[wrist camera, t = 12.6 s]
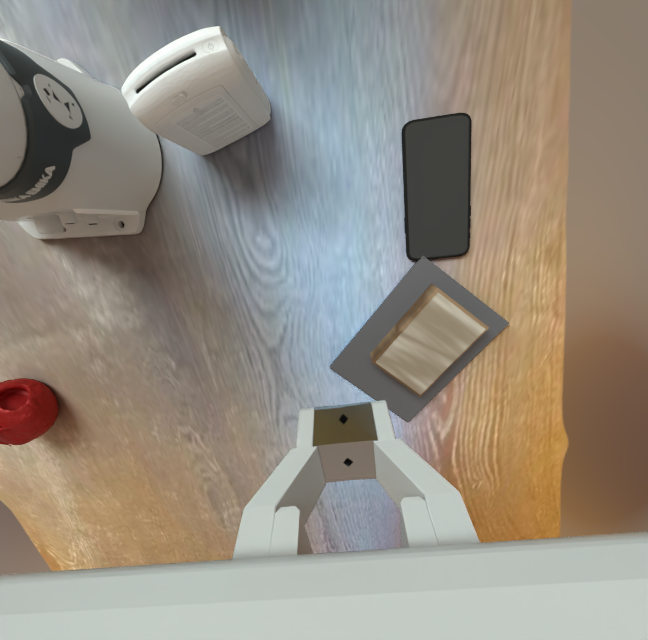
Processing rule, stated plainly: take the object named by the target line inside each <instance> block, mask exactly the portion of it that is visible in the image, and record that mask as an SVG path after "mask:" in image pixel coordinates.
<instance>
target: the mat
mask: <svg viewBox="0 0 648 640" xmlns="http://www.w3.org/2000/svg"><path fill="white" fill-rule="evenodd" d="M423 258H425V259H423ZM431 283H432V284H433V285H435V286H436V287H438V288H439V289H440V290H441V291H443V292H444V293H445V294H447V295H448V296H449V297H451V298H452V299H453V300H454V301H456V302H457V303H458V304H460V305H461V306H462V307H463V308H465V309H466V310H467V311H469V312H470V313H471V314H473V315H474V316H475V317H476V318H478V319H479V320H480V321H482V322H483V323H484V324H485V325H487V326H488V327H489V329H488V330H487V331H486V332H485V333H484V334H483V335H482V336H481V337H480V338H479V339H478V340H477V341H476V342H475V343H474V344H473V345H472V346H471V347H470V348H469V349H468V350H467V351H466V352H465V353H464V354H463V355H462V356H461V357H460V358H459V359H458V360H457V361H456V362H455V363H454V364H453V365H452V366H451V367H450V368H449V369H448V370H447V371H446V372H445V373H444V374H443V375H442V376H441V377H440V378H439V379H438V380H437V381H436V382H435V383H434V384H433V385H432V386H431V387H430V388H429V389H428V390H427V391H426V392H425V393H424V394H423V395H422V396H421V397H420V396H418V395H417V394H415V393H414V392H413V391H411V390H410V389H408V388H407V387H406V386H404V385H403V384H401V383H400V382H398V381H397V380H396V379H394V378H393V377H391V376H390V375H389V374H387V373H386V372H384V371H383V370H382V369H380V368H379V367H377V366H376V365H375V364H373V363H372V362H371V356H370V353H371V352H372V351H373V350H374V349H375V348H376V346H377V345H378V344H379V343H380V342H381V341H382V340H383V338H384V337H385V336H386V335H387V334H388V333H389V332H390V330H391V329H392V328H393V327H394V326H395V325H396V323H397V322H398V321H399V320H400V319H401V318H402V317H403V315H404V314H405V313H406V312H407V311H408V310H409V309H410V307H411V306H412V305H413V304H414V303H415V302H416V301H417V299H418V298H419V297H420V296H421V295H422V294H423V292H424V291H425V290H426V289H427V288H428V287H429V286H430V284H431ZM508 324H509V322H507V321H506V320H505V319H503V318H502V317H501V316H500V315H498V314H497V313H496V312H494V311H493V310H492V309H491V308H489V307H488V306H487V305H486V304H484V303H483V302H482V301H480V300H479V299H478V298H477V297H475V296H474V295H473V294H471V293H470V292H469V291H468V290H466V289H465V288H464V287H463V286H461V285H460V284H459V283H457V282H456V281H455V280H454V279H452V278H451V277H450V276H449V275H447V274H446V273H445V272H443V271H442V270H441V269H440V268H438V267H437V266H436V265H434V264H433V263H432V262H431V261H429V260H428V259H427V258H426V257H424V256H422V257H421V259H420V260H418V261H417V262H416V263H415V264H414V265H413V267H412V268H411V269H410V270H409V271H408V273H407V274H406V275H405V276H404V277H403V279H402V280H401V281H400V282H399V283H398V285H397V286H396V287H395V288H394V290H393V291H392V292H391V293H390V294H389V296H388V297H387V298H386V299H385V300H384V302H383V303H382V304H381V305H380V306H379V308H378V309H377V310H376V311H375V312H374V314H373V315H372V316H371V317H370V318H369V320H368V321H367V322H366V323H365V325H364V326H363V327H362V328H361V329H360V331H359V332H358V333H357V334H356V335H355V337H354V338H353V339H352V340H351V341H350V343H349V344H348V345H347V346H346V347H345V349H344V350H343V351H342V352H341V353H340V355H339V356H338V357H337V358H336V359H335V361H334V362H333V363H332V364H331V366H330V368H331V369H332V370H334V371H335V372H336V373H338V374H339V375H341V376H342V377H344V378H345V379H346V380H348V381H349V382H351V383H352V384H354V385H355V386H357V387H358V388H359V389H361V390H362V391H364V392H365V393H367V394H368V395H369V396H371V397H372V398H374V399H375V400H377V401H381V400H385V401H386V402H387V406H388V409H390V410H391V411H392V412H394V413H395V414H397V415H398V416H400V417H401V418H402V419H404V420H405V421H407V422H409V421H410V420H411V419H412V418H413V417H414V416H415V415H416V414H417V413H418V412H419V411H420V410H421V409H422V408H423V407H424V406H425V405H426V404H427V403H428V402H429V401H430V400H431V399H432V398H433V397H434V396H435V395H436V394H437V393H438V392H439V391H441V390H442V389H443V388H444V387H445V386H446V385H447V384H448V383H449V382H450V381H451V380H452V379H453V378H454V377H455V376H456V375H457V374H458V373H459V372H460V371H461V370H462V369H463V368H464V367H465V366H466V365H467V364H468V363H469V362H470V361H471V360H472V359H473V358H474V357H475V356H476V355H477V354H478V353H479V352H480V351H481V350H482V349H483V348H484V347H485V346H486V345H487V344H488V343H489V342H491V341H492V340H493V339H494V338H495V337H496V336H497V335H498V334H499V333H500V332H501V331H502V330H503V329H504V328H505V327H506V326H507V325H508Z"/></svg>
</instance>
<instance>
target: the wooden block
mask: <svg viewBox="0 0 648 640" xmlns="http://www.w3.org/2000/svg"><path fill="white" fill-rule="evenodd" d="M488 329H489V327H488V326H487V325H485V324H484V323H483V322H482V321H480V320H479V319H478V318H476V317H475V316H474V315H473V314H471V313H470V312H469V311H467V310H466V309H465V308H463V307H462V306H461V305H460V304H458V303H457V302H456V301H454V300H453V299H452V298H451V297H449V296H448V295H447V294H445V293H444V292H443V291H441V290H440V289H439V288H438V287H436V286H435V285H433V284H432V283H431V284H430V286H429V287H428V288H427V289H426V290H425V291H424V292H423V294H422V295H421V296H420V297H419V298H418V299H417V301H416V302H415V303H414V304H413V305H412V306H411V307H410V309H409V310H408V311H407V312H406V313H405V314H404V315H403V317H402V318H401V319H400V320H399V321H398V322H397V323H396V325H395V326H394V327H393V328H392V329H391V330H390V332H389V333H388V334H387V335H386V336H385V337H384V338H383V340H382V341H381V342H380V343H379V344H378V345H377V346H376V348H375V349H374V350H373V351H372V352H371V353H370V356H371V362H372V363H373V364H375V365H376V366H377V367H379V368H380V369H382V370H383V371H384V372H386V373H387V374H389V375H390V376H391V377H393V378H394V379H396V380H397V381H398V382H400V383H401V384H403V385H404V386H406V387H407V388H408V389H410V390H411V391H413V392H414V393H415V394H417V395H418V396H420V397H421V396H422V395H423V394H424V393H425V392H426V391H427V390H428V389H429V388H430V387H431V386H432V385H433V384H434V383H435V382H436V381H437V380H438V379H439V378H440V377H441V376H442V375H443V374H444V373H445V372H446V371H447V370H448V369H449V368H450V367H451V366H452V365H453V364H454V363H455V362H456V361H457V360H458V359H459V358H460V357H461V356H462V355H463V354H464V353H465V352H466V351H467V350H468V349H469V348H470V347H471V346H472V345H473V344H474V343H475V342H476V341H477V340H478V339H479V338H480V337H481V336H482V335H483V334H484V333H485V332H486V331H487V330H488Z"/></svg>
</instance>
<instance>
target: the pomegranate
mask: <svg viewBox="0 0 648 640" xmlns="http://www.w3.org/2000/svg"><path fill="white" fill-rule="evenodd" d="M57 415H58V404H57V400H56V397H55V395H54V394H53V393H52V391H51V390H50V389H49V387H47V386H46V385H45V384H43V383H42V382H40V381H36V380H34V379H25V378H20V379H14V380H7V381H4V382H0V444H6V445H9V444H12V445H22V444H25V443H28V442H30V441H32V440H33V439H36V438H38V437H39V436H41V435H42V434H44V433H45V432H46V431H48V430H49V429H50V428H51V427H52V425H53V424H54V422H55V420H56V418H57ZM9 446H11V445H9Z"/></svg>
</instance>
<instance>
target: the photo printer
mask: <svg viewBox="0 0 648 640" xmlns="http://www.w3.org/2000/svg"><path fill="white" fill-rule="evenodd" d="M122 95H123V96H124V98H125V99H126V101H127V103H128V106H129V109H130V111H131V112H132V113H133V114H134V116H135V117H136V118H137V119H138V120H139V121H140V122H141V123H142V124H143V125H144V126H145V127H146V128H147V129H149V130H150V131H152V132H153V133H155V134H157V135H160V136H161V137H163V138H166V139H168V140H170V141H172V142H174V143H176V144H178V145H180V146H182V147H184V148H186V149H188V150H190V151H192V152H194V153H196V154H198V155H207V154H210V153H213V152H215V151H217V150H219V149H221V148H223V147H225V146H227V145H229V144H231V143H233V142H235V141H237V140H239V139H240V138H242V137H244V136H246V135H248V134H250V133H252V132H253V131H255V130H257V129H258V128H260V127H262V126H263V125H265V124H266V123H267V122H268V121H269V120H270V119H271V117H270V114H271V106H270V102H269V99H268V97H267V95H266V94H265V92H264V90H263V89H262V87H261V86H260V84H259V82H258V81H257V79H256V77H255V76H254V74H253V72H252V71H251V69H250V68H249V66H248V64H247V63H246V61H245V60H244V58H243V56H242V55H241V53H240V52H239V50H238V48H237V47H236V46H235V44H234V43H233V42H232V41H231V40H230V39H229V38H228V37H227V35H226V34H225V32H224V31H223V29H222V28H221V27H220V26H217V27H209V28H204V29H201V30H198V31H195V32H193V33H190V34H188V35H185V36H183V37H181V38H179V39H177V40H175V41H173V42H172V43H170V44H168V45H166V46H165V47H163V48H162V49H160V50H158V51H157V52H155V53H154V54H152V55H151V56H150V57H149V58H147V59H146V60H145V61H143V62H142V63H141V64H140V65H139V66H138V67H137V68H136V69H135V70H134V71H133V72H132V73H131V74H130V75H129V77H128V78H127V80H126V81H125V83H124V85H123V87H122Z"/></svg>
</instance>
